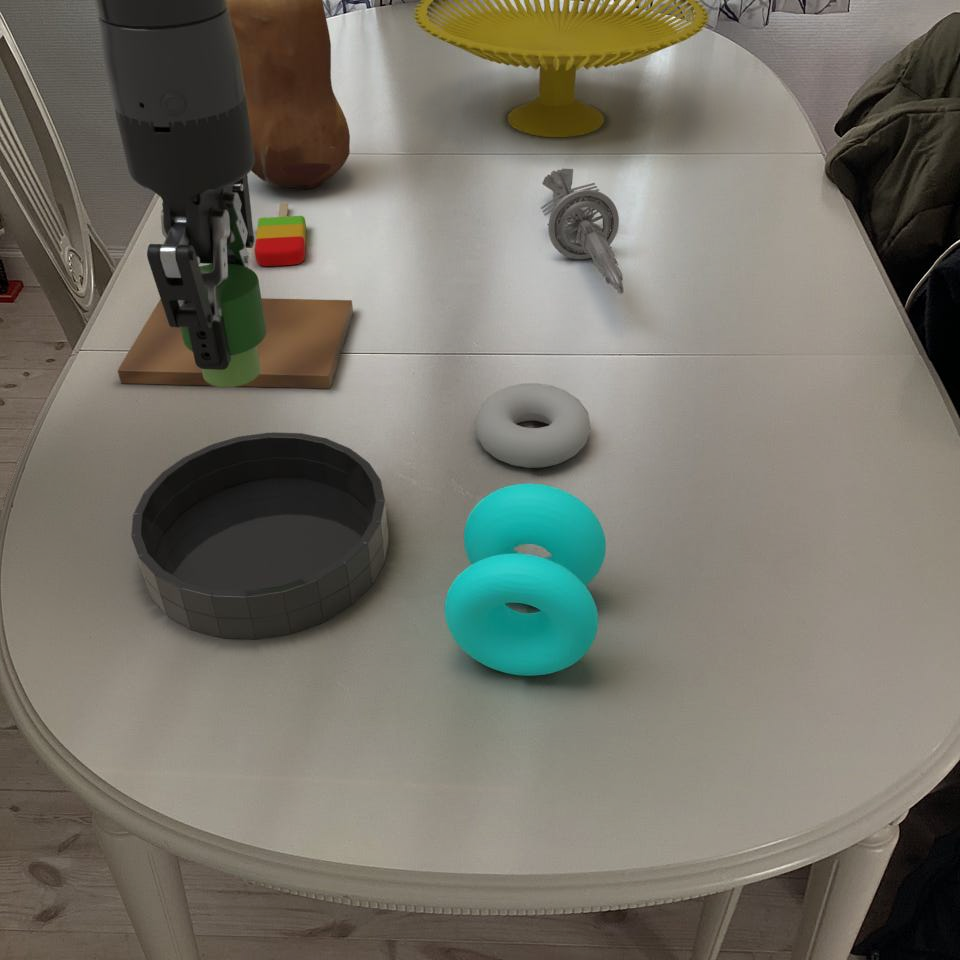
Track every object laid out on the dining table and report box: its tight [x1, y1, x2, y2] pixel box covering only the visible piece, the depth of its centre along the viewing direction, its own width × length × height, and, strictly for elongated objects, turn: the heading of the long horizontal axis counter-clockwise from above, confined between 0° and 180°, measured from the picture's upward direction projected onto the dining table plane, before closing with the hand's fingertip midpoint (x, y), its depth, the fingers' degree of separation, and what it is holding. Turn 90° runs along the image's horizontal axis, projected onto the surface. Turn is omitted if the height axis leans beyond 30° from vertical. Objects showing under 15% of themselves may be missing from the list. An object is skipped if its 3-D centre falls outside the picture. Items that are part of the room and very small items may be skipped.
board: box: [117, 297, 354, 390], centre depth 100 cm, size 20×14×2 cm
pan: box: [130, 432, 390, 640], centre depth 77 cm, size 18×18×4 cm
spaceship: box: [540, 168, 624, 295], centre depth 112 cm, size 8×35×8 cm
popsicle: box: [254, 201, 307, 267], centre depth 119 cm, size 6×15×2 cm, turn 7°
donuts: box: [444, 483, 607, 677], centre depth 69 cm, size 10×10×10 cm
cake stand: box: [412, 0, 711, 138], centre depth 143 cm, size 40×40×15 cm
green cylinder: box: [180, 264, 266, 388], centre depth 69 cm, size 6×6×7 cm
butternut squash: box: [227, 0, 351, 191], centre depth 123 cm, size 14×13×25 cm
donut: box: [474, 382, 592, 469], centre depth 88 cm, size 10×4×10 cm
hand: (226, 340), depth 70 cm, fingers closed on green cylinder, 5 cm apart
